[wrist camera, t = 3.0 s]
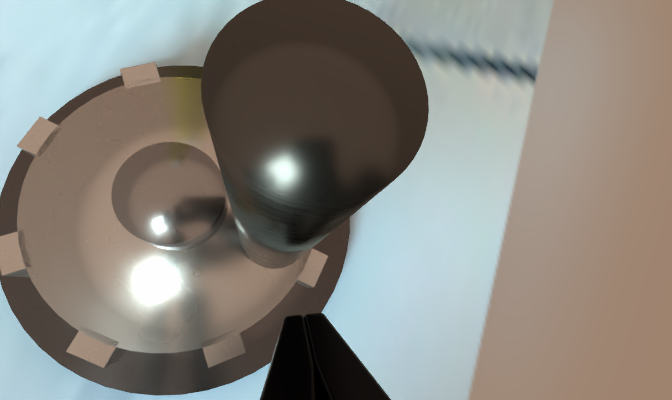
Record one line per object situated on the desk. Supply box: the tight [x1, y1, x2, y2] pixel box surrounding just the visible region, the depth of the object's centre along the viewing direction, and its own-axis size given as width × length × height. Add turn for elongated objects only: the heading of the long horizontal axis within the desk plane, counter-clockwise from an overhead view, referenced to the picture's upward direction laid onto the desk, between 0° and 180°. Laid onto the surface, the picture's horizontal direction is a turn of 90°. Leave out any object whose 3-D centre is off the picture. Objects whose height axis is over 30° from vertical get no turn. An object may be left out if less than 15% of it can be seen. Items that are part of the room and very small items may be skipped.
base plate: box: [0, 66, 349, 395], centre depth 14 cm, size 13×13×4 cm
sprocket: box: [0, 0, 429, 368], centre depth 9 cm, size 11×11×12 cm
